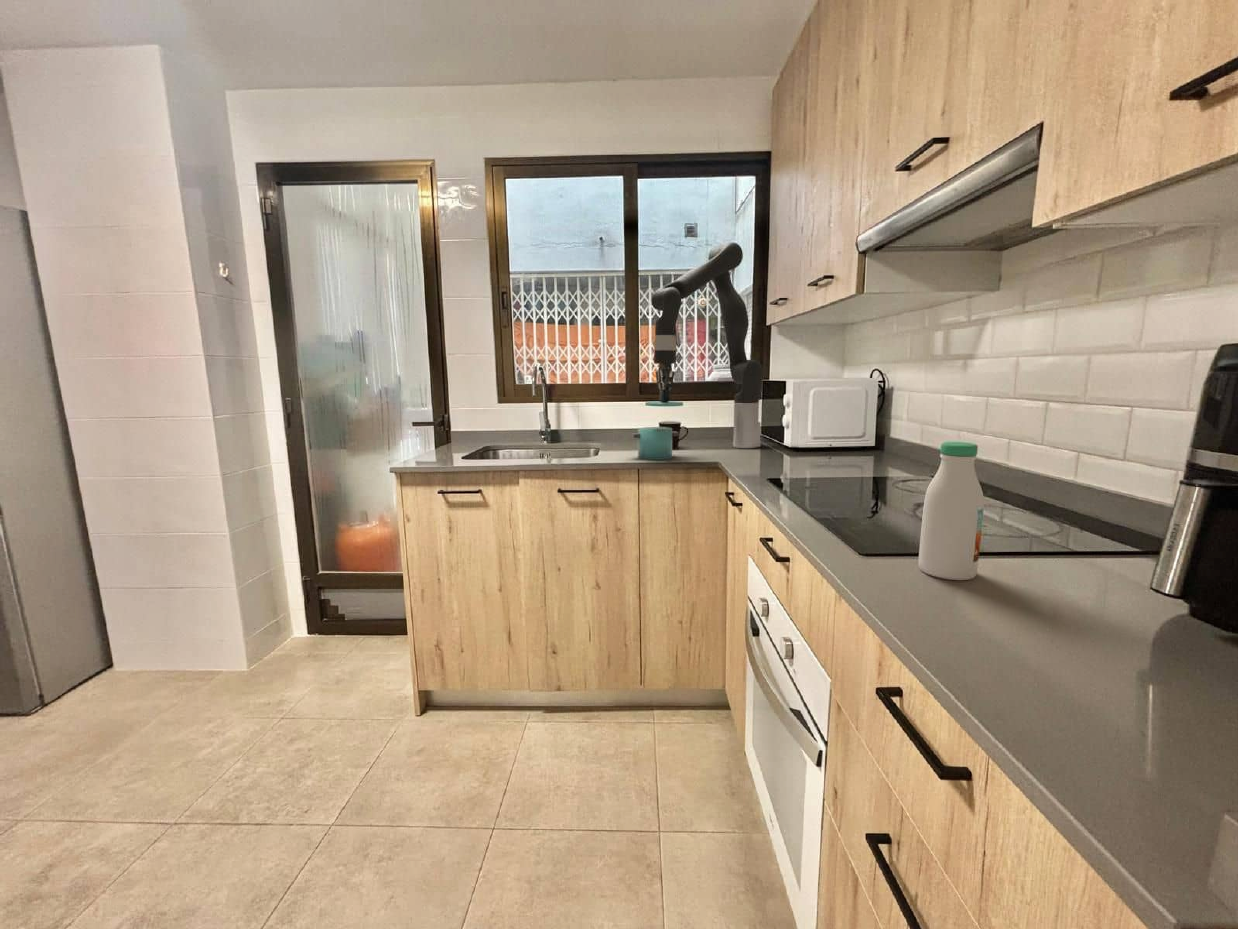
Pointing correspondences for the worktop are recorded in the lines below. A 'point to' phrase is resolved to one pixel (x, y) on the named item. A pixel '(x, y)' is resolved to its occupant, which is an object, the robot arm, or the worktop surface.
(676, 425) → the coffee mug
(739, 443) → the robot arm
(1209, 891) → the worktop surface
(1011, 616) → the worktop surface
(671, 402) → the lid
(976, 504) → the milk bottle
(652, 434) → the pot
